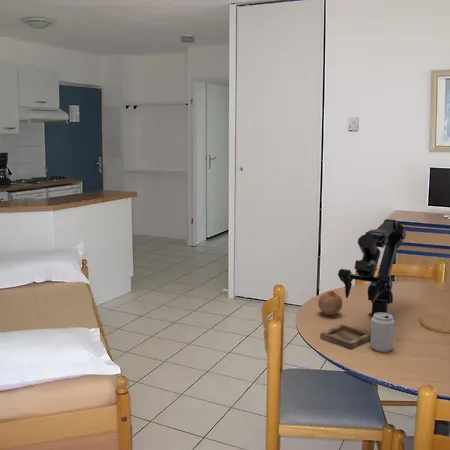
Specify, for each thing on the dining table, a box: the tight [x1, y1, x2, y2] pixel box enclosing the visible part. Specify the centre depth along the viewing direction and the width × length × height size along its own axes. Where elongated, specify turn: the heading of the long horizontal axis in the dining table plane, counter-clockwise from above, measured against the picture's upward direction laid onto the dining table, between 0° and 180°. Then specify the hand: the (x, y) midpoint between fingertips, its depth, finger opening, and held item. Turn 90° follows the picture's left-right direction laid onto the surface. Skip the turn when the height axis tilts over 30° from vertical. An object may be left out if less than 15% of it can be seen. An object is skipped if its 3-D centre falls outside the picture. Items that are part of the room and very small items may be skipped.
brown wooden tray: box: [319, 323, 371, 350], centre depth 194 cm, size 13×13×2 cm
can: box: [369, 312, 395, 353], centre depth 185 cm, size 8×8×12 cm
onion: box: [317, 290, 343, 316], centre depth 217 cm, size 10×9×10 cm
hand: (359, 300), depth 193 cm, fingers open, 9 cm apart
